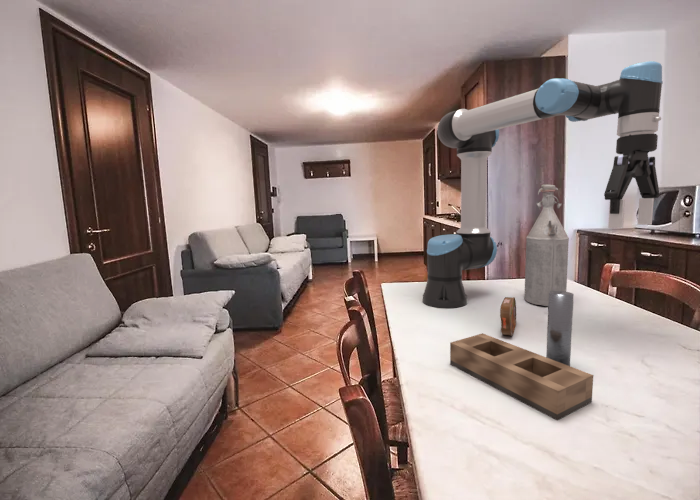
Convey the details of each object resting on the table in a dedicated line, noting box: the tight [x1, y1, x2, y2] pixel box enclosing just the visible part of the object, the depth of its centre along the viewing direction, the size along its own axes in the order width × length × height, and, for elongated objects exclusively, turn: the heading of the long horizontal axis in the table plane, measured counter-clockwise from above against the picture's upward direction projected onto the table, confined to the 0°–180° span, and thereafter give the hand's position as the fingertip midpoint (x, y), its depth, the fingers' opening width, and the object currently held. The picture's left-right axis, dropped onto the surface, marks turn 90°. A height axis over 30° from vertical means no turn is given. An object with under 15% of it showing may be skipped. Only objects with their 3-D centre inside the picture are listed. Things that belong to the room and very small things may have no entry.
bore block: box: [449, 332, 594, 421], centre depth 71 cm, size 24×10×5 cm, turn 29°
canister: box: [523, 184, 570, 307], centre depth 121 cm, size 13×17×40 cm
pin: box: [545, 291, 574, 367], centre depth 75 cm, size 4×4×16 cm
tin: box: [499, 296, 517, 337], centre depth 98 cm, size 15×3×8 cm, turn 150°
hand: (630, 226), depth 87 cm, fingers open, 13 cm apart
